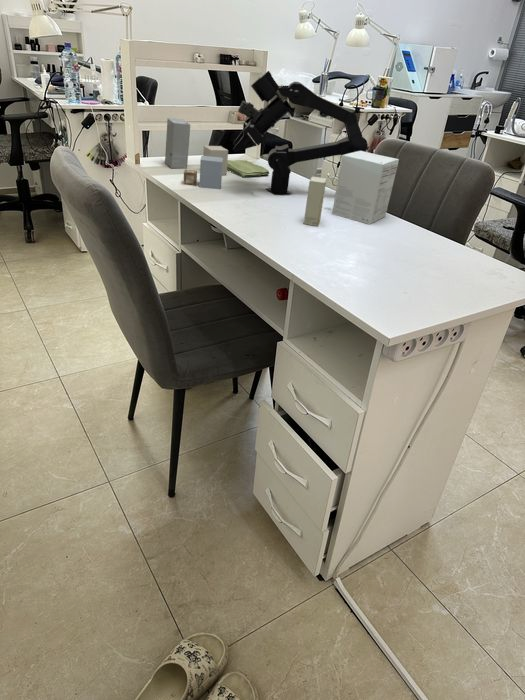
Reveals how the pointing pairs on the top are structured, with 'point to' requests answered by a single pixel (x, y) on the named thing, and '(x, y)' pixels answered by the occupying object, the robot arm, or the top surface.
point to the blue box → (211, 172)
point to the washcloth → (246, 168)
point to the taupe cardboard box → (217, 155)
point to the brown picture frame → (190, 177)
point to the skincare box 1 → (177, 143)
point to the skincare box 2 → (314, 201)
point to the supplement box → (364, 186)
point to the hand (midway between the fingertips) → (233, 148)
